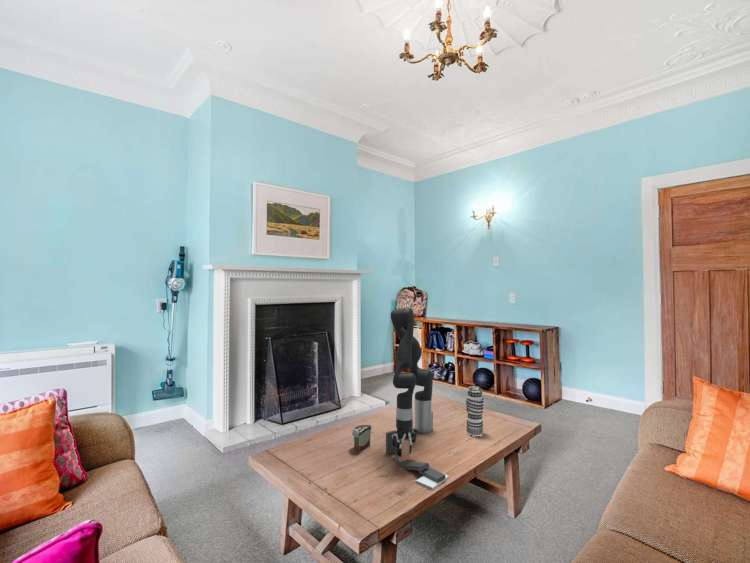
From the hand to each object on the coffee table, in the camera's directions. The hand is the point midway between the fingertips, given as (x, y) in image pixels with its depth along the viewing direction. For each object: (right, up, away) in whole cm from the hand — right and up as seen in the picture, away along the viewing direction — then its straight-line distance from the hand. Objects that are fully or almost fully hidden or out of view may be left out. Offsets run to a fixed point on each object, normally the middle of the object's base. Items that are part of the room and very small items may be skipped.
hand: (404, 454), depth 167 cm
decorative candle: (+40, -4, +31) cm, 51 cm away
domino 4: (+2, -2, -5) cm, 6 cm away
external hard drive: (+10, -4, -16) cm, 19 cm away
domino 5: (+7, -1, -11) cm, 13 cm away
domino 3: (-3, -3, +3) cm, 6 cm away
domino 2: (0, -2, 0) cm, 2 cm away
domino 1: (-5, -3, +8) cm, 10 cm away
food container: (-21, -3, +13) cm, 25 cm away
